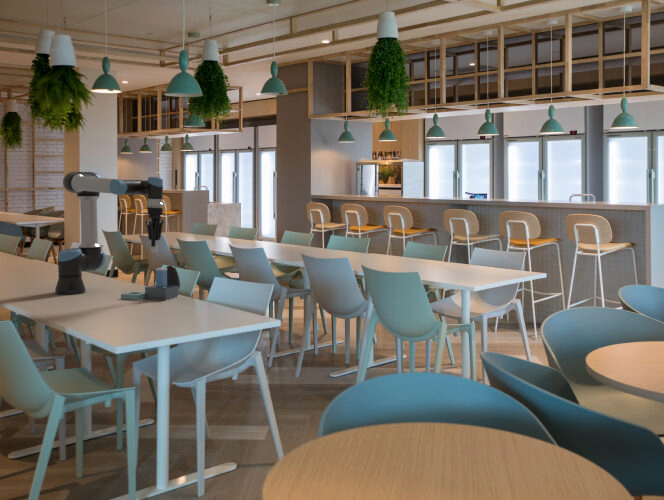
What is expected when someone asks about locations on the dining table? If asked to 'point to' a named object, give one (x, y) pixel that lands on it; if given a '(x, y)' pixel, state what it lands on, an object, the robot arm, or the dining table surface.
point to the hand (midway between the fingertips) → (154, 252)
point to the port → (161, 292)
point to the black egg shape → (172, 276)
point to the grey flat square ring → (133, 295)
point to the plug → (161, 277)
